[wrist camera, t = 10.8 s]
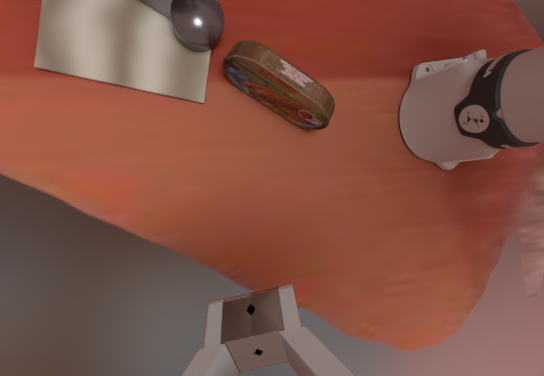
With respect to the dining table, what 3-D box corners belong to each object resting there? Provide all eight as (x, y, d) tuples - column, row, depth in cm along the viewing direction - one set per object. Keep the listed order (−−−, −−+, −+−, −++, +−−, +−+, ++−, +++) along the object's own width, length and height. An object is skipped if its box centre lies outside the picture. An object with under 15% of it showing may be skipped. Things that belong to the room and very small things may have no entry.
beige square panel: (221, -35, 35) (222, -39, 35) (203, 103, 36) (204, 102, 35) (57, -96, 30) (53, -103, 29) (37, 68, 30) (33, 65, 29)
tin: (217, 76, 36) (226, 48, 28) (229, 56, 36) (241, 23, 28) (308, 135, 40) (339, 125, 32) (318, 116, 41) (350, 103, 33)
